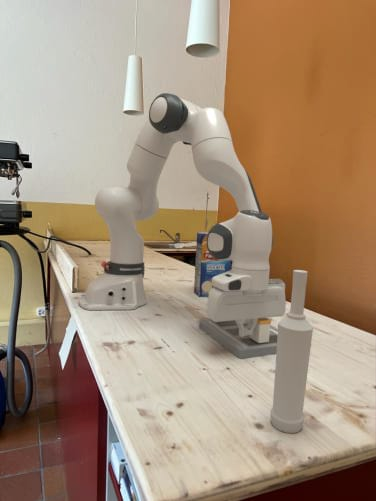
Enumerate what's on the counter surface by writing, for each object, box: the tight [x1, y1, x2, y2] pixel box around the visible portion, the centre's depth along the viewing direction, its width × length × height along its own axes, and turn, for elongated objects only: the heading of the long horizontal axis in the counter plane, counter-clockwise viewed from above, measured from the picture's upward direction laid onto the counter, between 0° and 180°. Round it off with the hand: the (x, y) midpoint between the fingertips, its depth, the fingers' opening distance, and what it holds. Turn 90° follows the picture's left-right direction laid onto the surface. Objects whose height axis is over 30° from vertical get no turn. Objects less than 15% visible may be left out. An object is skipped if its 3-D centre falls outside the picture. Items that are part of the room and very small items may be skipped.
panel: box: [198, 317, 278, 360], centre depth 95 cm, size 18×22×7 cm
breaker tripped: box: [249, 318, 272, 343], centre depth 88 cm, size 3×4×5 cm
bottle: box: [270, 269, 314, 434], centre depth 56 cm, size 5×5×25 cm
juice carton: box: [193, 232, 232, 298], centre depth 140 cm, size 12×8×24 cm, turn 105°
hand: (245, 335), depth 87 cm, fingers closed
